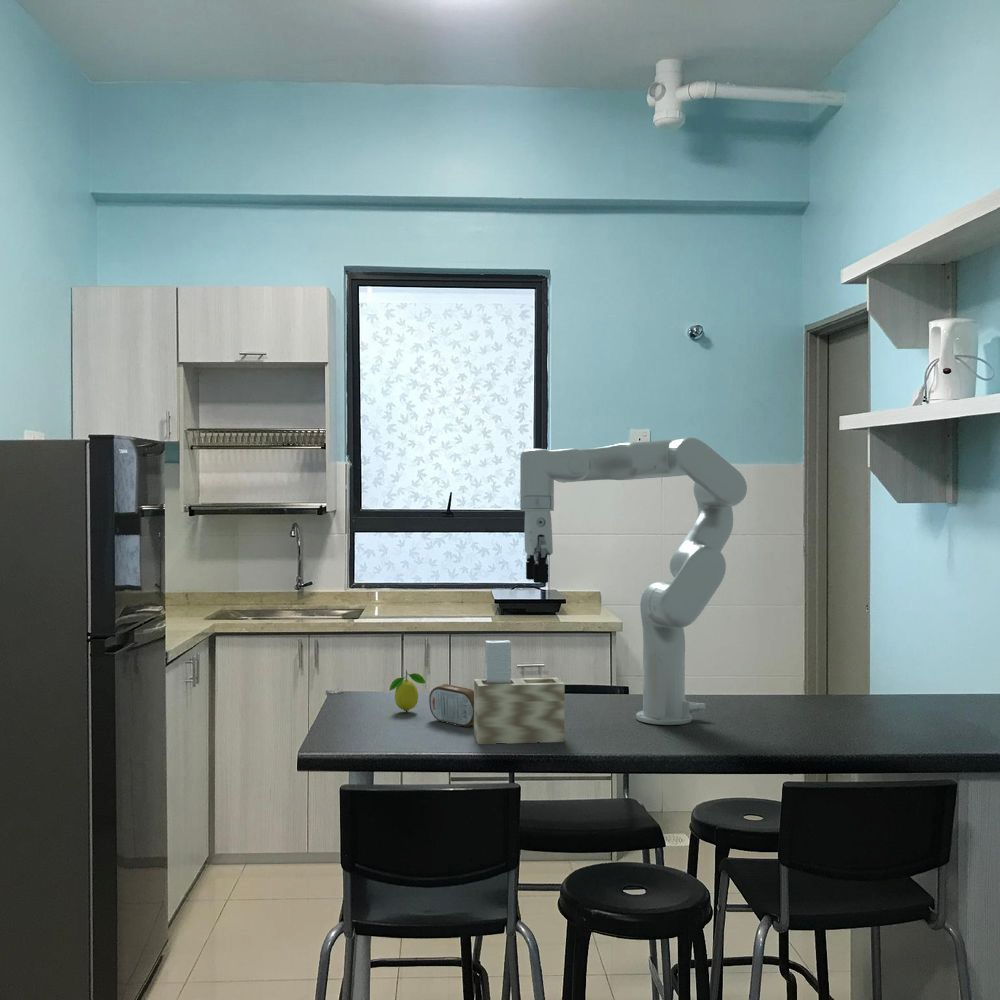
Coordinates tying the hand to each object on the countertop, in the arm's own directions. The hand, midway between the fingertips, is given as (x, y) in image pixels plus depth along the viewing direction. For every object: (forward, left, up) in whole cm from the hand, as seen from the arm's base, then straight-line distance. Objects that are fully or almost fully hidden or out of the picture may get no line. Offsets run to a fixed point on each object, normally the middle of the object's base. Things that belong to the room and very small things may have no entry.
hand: (536, 581), depth 224 cm
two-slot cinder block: (+6, +12, -32) cm, 35 cm away
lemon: (+28, -18, -32) cm, 46 cm away
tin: (+18, -4, -32) cm, 37 cm away
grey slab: (+10, +12, -24) cm, 29 cm away
